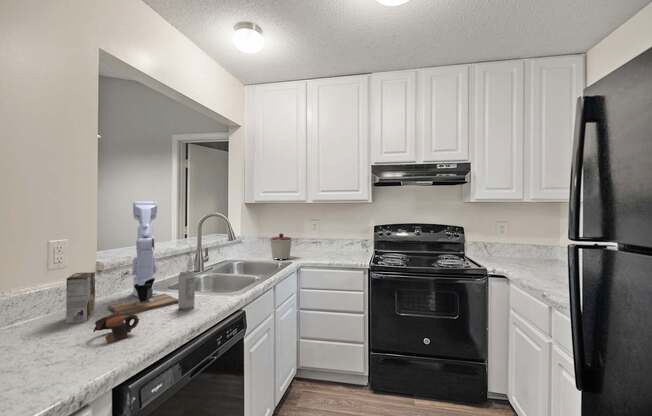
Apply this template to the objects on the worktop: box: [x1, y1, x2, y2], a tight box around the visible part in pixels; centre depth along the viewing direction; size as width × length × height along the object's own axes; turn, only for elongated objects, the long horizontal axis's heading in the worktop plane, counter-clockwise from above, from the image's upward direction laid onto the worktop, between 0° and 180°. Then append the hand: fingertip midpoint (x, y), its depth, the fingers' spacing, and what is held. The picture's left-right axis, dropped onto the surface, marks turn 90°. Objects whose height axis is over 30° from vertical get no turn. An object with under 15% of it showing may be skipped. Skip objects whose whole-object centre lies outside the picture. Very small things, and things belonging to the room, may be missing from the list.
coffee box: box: [65, 271, 96, 325], centre depth 111 cm, size 9×6×16 cm
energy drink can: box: [177, 269, 196, 310], centre depth 124 cm, size 6×6×15 cm
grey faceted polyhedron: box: [136, 288, 154, 300], centre depth 127 cm, size 5×6×4 cm
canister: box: [269, 233, 293, 259], centre depth 245 cm, size 18×18×21 cm
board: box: [107, 293, 178, 317], centre depth 127 cm, size 15×22×2 cm
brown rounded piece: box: [93, 313, 140, 344], centre depth 97 cm, size 12×10×8 cm
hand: (144, 298), depth 127 cm, fingers open, 7 cm apart
